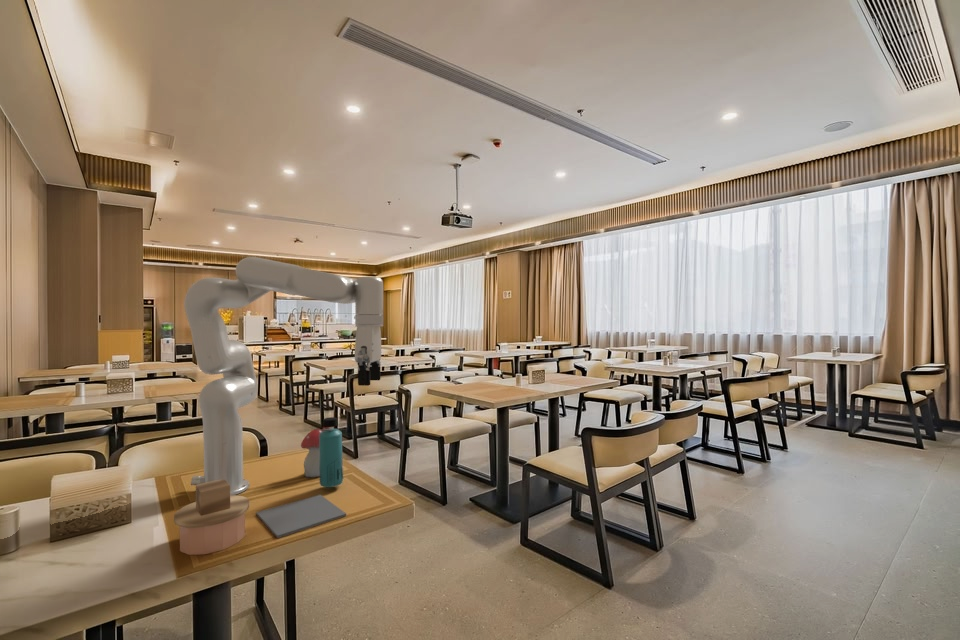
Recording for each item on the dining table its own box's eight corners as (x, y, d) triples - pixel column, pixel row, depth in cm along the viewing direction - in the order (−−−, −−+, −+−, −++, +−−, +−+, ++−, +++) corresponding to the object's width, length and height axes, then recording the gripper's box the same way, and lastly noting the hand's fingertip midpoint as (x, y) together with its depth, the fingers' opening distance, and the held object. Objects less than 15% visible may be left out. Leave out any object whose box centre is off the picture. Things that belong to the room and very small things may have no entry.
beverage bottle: (338, 492, 122) (338, 420, 122) (315, 492, 122) (314, 420, 122) (346, 484, 128) (345, 415, 128) (324, 484, 128) (323, 415, 128)
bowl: (166, 555, 90) (166, 526, 90) (201, 527, 102) (201, 501, 102) (226, 553, 90) (226, 524, 90) (254, 526, 102) (254, 500, 102)
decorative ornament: (332, 468, 141) (331, 422, 141) (334, 475, 135) (333, 426, 135) (300, 473, 138) (300, 425, 138) (301, 480, 132) (301, 430, 132)
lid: (257, 513, 96) (256, 485, 96) (179, 534, 86) (179, 504, 86) (240, 494, 106) (239, 469, 106) (169, 511, 97) (169, 484, 97)
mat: (277, 538, 96) (277, 535, 96) (256, 514, 108) (256, 512, 108) (346, 515, 107) (346, 513, 107) (320, 496, 119) (320, 494, 119)
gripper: (365, 321, 131) (366, 378, 131) (345, 321, 114) (345, 387, 114) (390, 321, 131) (390, 378, 131) (373, 321, 114) (373, 387, 114)
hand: (369, 382), depth 122 cm, fingers open, 9 cm apart
